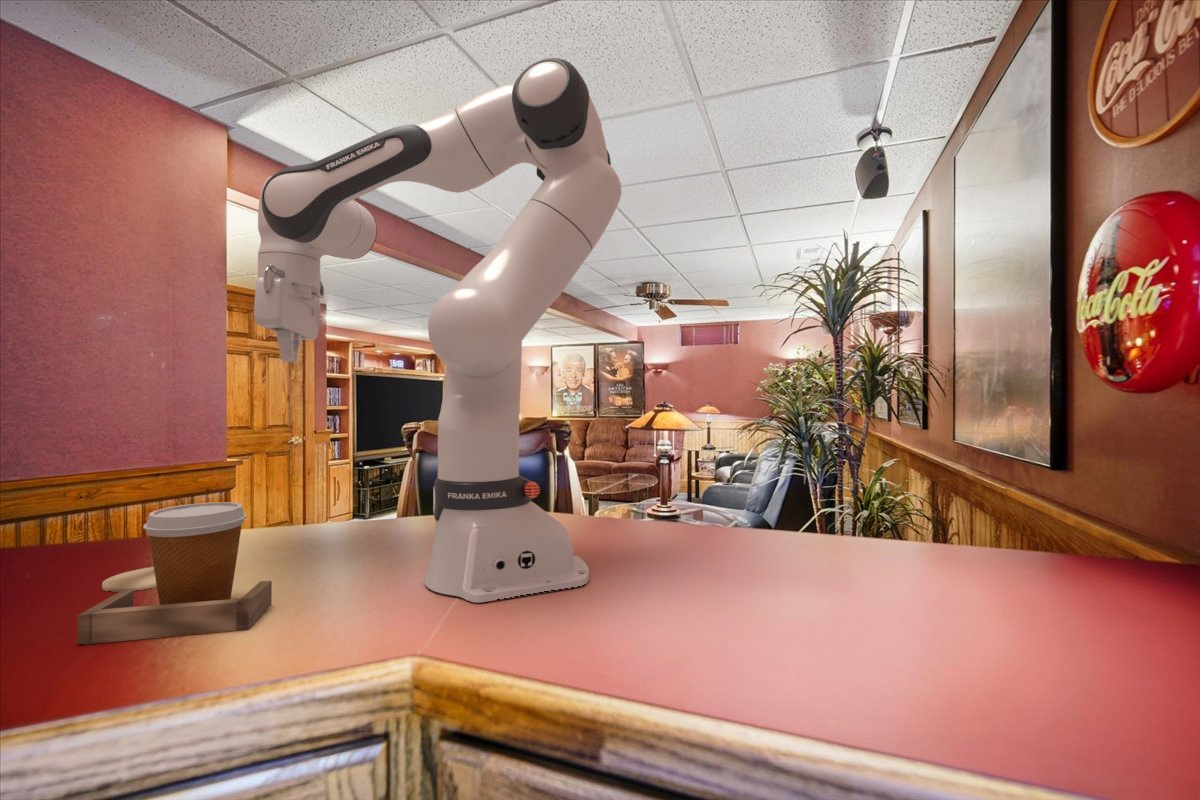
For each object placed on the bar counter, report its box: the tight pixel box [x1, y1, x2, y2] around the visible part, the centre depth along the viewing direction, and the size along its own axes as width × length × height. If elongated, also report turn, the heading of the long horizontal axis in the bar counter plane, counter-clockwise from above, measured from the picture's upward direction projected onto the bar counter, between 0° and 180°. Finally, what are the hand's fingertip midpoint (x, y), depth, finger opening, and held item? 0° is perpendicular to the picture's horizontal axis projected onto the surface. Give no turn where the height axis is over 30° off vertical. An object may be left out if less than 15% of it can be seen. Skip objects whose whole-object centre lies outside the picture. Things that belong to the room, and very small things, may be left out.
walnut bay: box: [77, 580, 273, 645], centre depth 58 cm, size 15×7×3 cm, turn 104°
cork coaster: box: [101, 566, 157, 593], centre depth 72 cm, size 9×9×1 cm
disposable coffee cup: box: [143, 501, 247, 605], centre depth 61 cm, size 10×10×12 cm
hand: (289, 361), depth 86 cm, fingers closed
